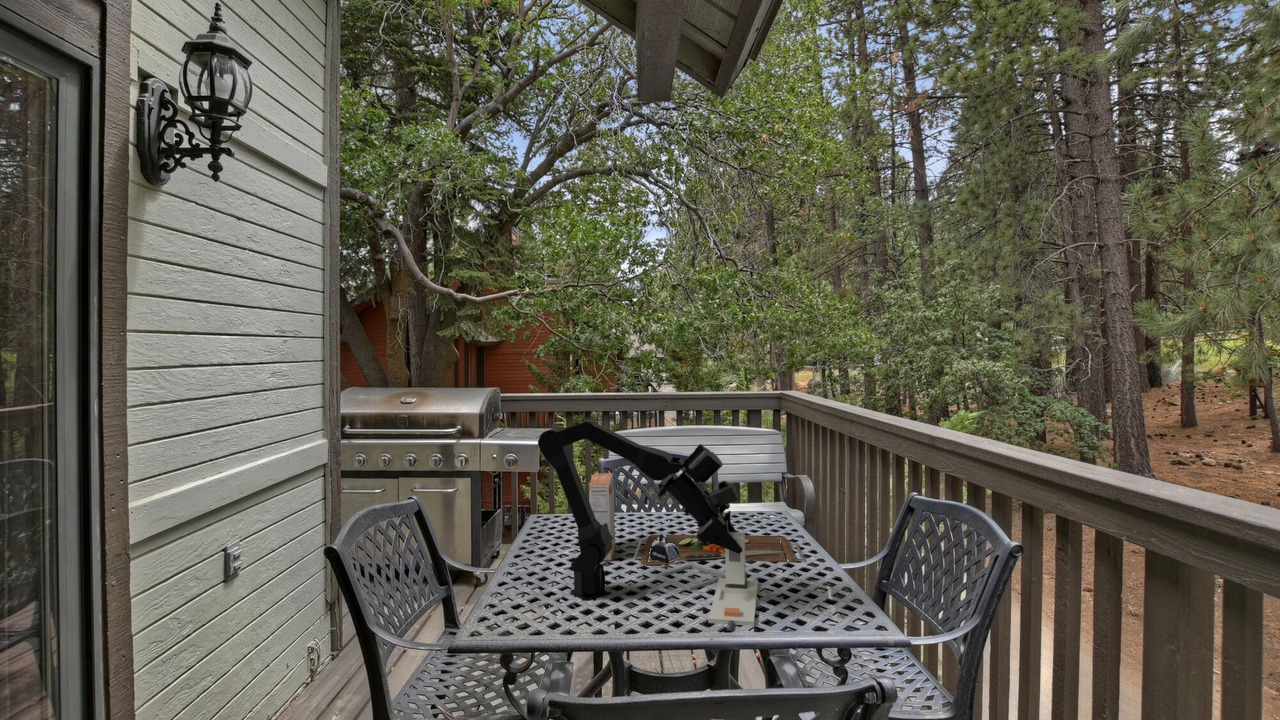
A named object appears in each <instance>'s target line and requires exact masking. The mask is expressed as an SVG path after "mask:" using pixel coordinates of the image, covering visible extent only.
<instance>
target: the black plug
mask: <svg viewBox="0 0 1280 720" xmlns="http://www.w3.org/2000/svg"><path fill="white" fill-rule="evenodd" d="M747 579H748V572H747V571H745V584H744V585H742V584H728V588H742V589H746V588H747Z"/></svg>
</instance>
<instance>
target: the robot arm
mask: <svg viewBox="0 0 1280 720" xmlns="http://www.w3.org/2000/svg"><path fill="white" fill-rule="evenodd" d="M584 439H585V440H587V441H590V442H592V443H594V444H595V445H598V446H600V447H601V448H603V449H605V450H608V451H609V452H612V453H613V454H615V455H618V456H619V457H621V458H623V459H625V460H627V461H629V462H630V463H631V464H633V465H634V466H635V467H636V468H637V469H638V470H639V472H641V473H643V474H644V475H645V476H647V477H648V478H650V479H651V480H654V481H658V482H659V481H662V480H666V481H665V482H660V483H659V484H658V497H660V498H662V497H663V496H665V494H666V493H668V494H670V496H671V497H673V499H674V500H675V501H677V503H678V504H679V505H680V506H681V507H682V508H683V509H684V510H683V512H684V513H685V515H690V516H691V517H692V519H694V520H695V521H696V522H697V527H698V530H697V533H696V535H697V539H698V540H699V541H700V542H701V543H702V544H703V545H705V544H706V543H707V542H708V543H712V544H715V545H718V546H721V547H723V548H726V549H728V550H731V551H733V552H736V553H738V554H740V553H741V552H742V548H741V547H740V546H739V544H738V543H737V541H736V540H735V539H734V537H733V536H732V535H731V533H730V532H738V531H737V529H736V528H735V526H734V525H733V523H732V521H731V519H732V518H731V515H732V514H731V510H729V509H730V508H731V504H733V503H735V502H737V501H739V497H740V496H739V493H738V492H737V489H736V486H735V485H734V483H732V482H731V483H729V482H728V481H726V480H722V481H720V482H719V483H718V488H717V489H715V490H714V491H712V492H709V490H708V489H705V488H704V489H702V488H701V487H700V486H699V485H698V484H699V483H704V484H705V483H706V482H707V481H709V480H710V479H711V478H712V476H713V475H715V474H716V473H717V472H718V471H719V470H720V469H721V468H722V467H723V465H724V464H723V462H722V460H721V459H720V458H719V456H718V455H717V454H716V453H714V451H711V450H709V448H707V447H706V446H705V445H704V444H702V443H699V444H698V446H696V448H695V449H694V451H693V452H692V453H691V454H690V455H689V456H687V458H684V457H678V456H672V455H673V454H671V453H670V452H668V451H666V450H663V449H660V448H656V447H652V446H651V447H650V446H646V445H642V444H639V443H637V442H635V441H633V440H631V439H629V438H627V437H624V436H623V435H622V434H621V435H620V434H619V433H617V432H615V431H613V430H611V429H609V428H607V427H605V426H604V425H601V424H599V423H598V422H596V421H595V420H594V419H586V420H584V421H581V422H579V423H578V424H575V425H574V424H573V426H569V427H567V428H563V427H561V426H555V427H552V428H551V429H547V430H545V431H543V432H541V434H540V435H539V438H538V439H537V446H538V448H539V450H540V452H541V453H542V455H543V457H544V458H545V461H547V463H548V464H549V465H550V466H551V467H552V469H554V471H555V473H556V475H557V479H558V480H559V482H560V483H559V484H560V486H561V488H562V491H563V493H564V495H565V498H566V501H567V503H568V506H569V508H570V511H571V514H572V516H573V519H574V522H575V524H576V526H577V540H578V541H577V542H578V547H579V552H580V553H579V554H578V556H577V557H575V559H574V560H572V562H571V563H570V566H571V568H572V570H573V589H571V590H570V593H571V594H573V595H574V596H576V597H578V598H580V599H582V600H584V601H588V600H591V599H594V598H598V597H600V596H601V597H602V596H604V595H607V594H609V590H607V589H606V571H605V569H604V565H603V564H602V562H604V561H603V560H604V559H605V558H606V556H607V555H608V554H609V553H610V551H611V549H612V539H613V537H612V536H611V534H610V532H609V528H608V525H607V523H605V524H603V525H601V524H600V523H599V522H598V521H597V520H596V518H595V516H594V513H593V511H592V508H591V505H590V503H589V497H588V495H587V493H586V491H585V490H586V489H585V488H584V485H583V483H582V481H581V478H580V475H579V473H578V470H577V467H576V465H575V462H574V461H575V460H574V448H573V444H574V443H577V442H579V441H582V440H584ZM683 468H684V470H683ZM681 470H683V471H682V472H681V473H680V474H679V472H680V471H681ZM676 474H679V475H676ZM669 475H671V476H670V477H669ZM667 477H669V478H668V479H667ZM697 483H698V484H697ZM726 510H728V512H726V513H725V511H726ZM597 596H598V597H597Z"/></svg>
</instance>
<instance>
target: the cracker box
mask: <svg viewBox="0 0 1280 720" xmlns="http://www.w3.org/2000/svg"><path fill="white" fill-rule="evenodd" d="M614 485H615V484H614V473H611V472H608V473H606V472H605V473H603V472H602V473H601V472H600V473H593V475H592V478H591V480H590V481H589V483H588V496H589V497H588V500H589V503H590V505H591V508H592V511H593V513H594V516H595V518H596V520H597V521H598V522H599V523H600V524H601V525H603V524H605V523H607V525H608V528H609V532H610V534H611V536H612V537H613V539H612V549H611V551H610V553H609V554H608V555H607V556H606V558H605V559H604V560H603V562H611V561H613V557H614V553H615V547H616V530H615V528H616V527H615V526H616V525H615V522H616V521H615V496H614V495H615V494H614V493H615V492H614V489H615V488H614V487H615V486H614Z"/></svg>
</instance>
